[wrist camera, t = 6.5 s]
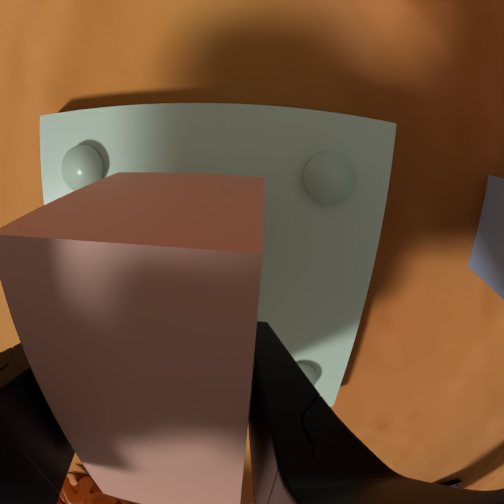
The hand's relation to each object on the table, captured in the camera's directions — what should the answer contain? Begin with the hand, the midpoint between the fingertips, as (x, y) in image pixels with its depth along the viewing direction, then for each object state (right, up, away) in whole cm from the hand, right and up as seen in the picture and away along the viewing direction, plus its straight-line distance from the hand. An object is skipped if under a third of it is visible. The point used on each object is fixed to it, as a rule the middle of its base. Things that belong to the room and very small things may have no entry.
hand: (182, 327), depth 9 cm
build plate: (0, +1, +3) cm, 4 cm away
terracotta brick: (0, 0, +1) cm, 1 cm away
